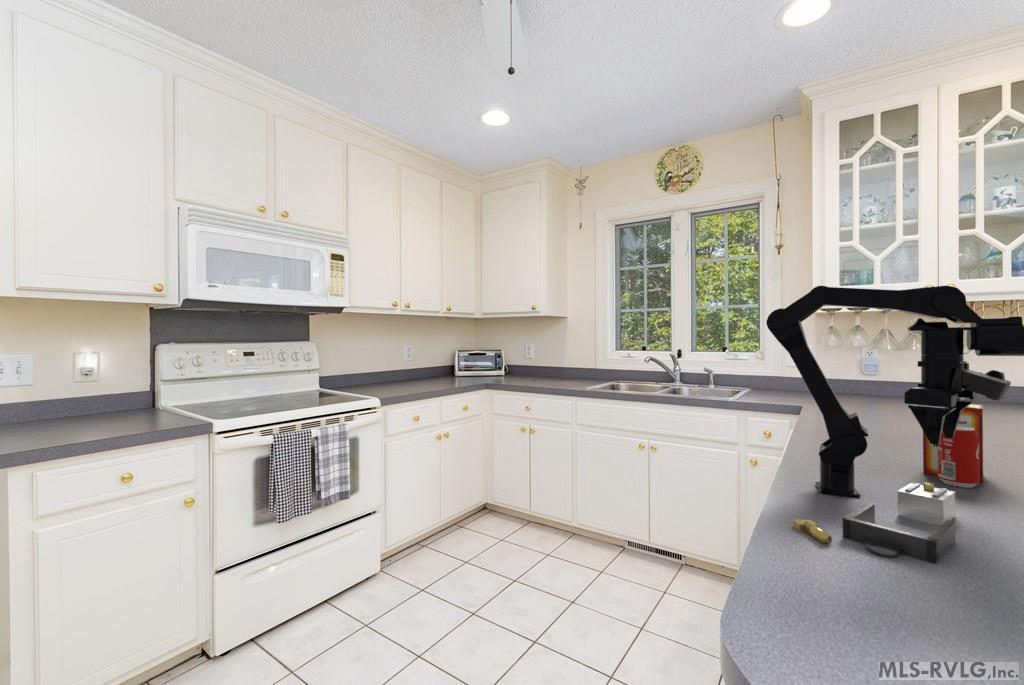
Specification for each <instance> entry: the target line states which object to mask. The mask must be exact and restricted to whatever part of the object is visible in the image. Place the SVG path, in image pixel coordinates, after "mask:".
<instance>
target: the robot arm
mask: <svg viewBox="0 0 1024 685" xmlns="http://www.w3.org/2000/svg"><path fill="white" fill-rule="evenodd" d="M827 306H829V307H830V306H831V307H832V306H833V307H844V308H847V307H848V308H861V309H873V310H874V309H876V310H891V311H892V310H894V311H898V312H903V313H907V314H911V315H916V316H920V317H919V318H917V319H916V321H914V323H913V324H912V325H910V326H908V327H907V331H908V332H913V331H914V332H920V333H921V334H920V341H921V342H920V351H921V352H920V360H918V361H917V367H919V368H920V369H921V370H920V372H921V373H920V377H921V378H920V382H917V386H915V387H911V388H909V389H908V390H907V391H905V392H904V404H906V405H907V408H908V409H910V411H911V413H912V414H913V416H914V417H915V419H916V421H917V423H918V424H919V426H920V428H921V430H922V432H923V431H924V433H925V435H926V437H927V438H928V440H929V442H930V444H934V445H938V444H939V442H940V438H941V433H942V431H943V433H944V435H945V437H947V438H953V437H954V434H955V431H956V428H957V425H958V422H959V419H960V416H961V413H962V410H963V409H964V408H966V407H967V406H969V405H971V404H972V405H974V403H975V402H976V401H975V400H977V399H978V394H979V395H981V396H984V397H986V398H987V399H989V400H993V401H1000V400H1003V398H1004V397H1005V394H1006V393H1007V391H1008V390H1009V389H1010V386H1011V385H1012V382H1011V381H1010V380H1007V379H1006V377H1005V373H1004V372H1002V371H999V370H996V369H990V370H989V371H987V372H986V373H983V372H980V371H975V370H971V369H970V363H969V362H968V361H966V360H964V354H965V353H964V352H965V351H964V345H965V344H964V332H965V331H966V336H965V337H966V338H965V340H966V348H967V350H968V351H973V350H974V353H975V355H976V356H977V357H982V356H983V357H985V356H986V357H1001V356H1002V357H1024V323H1023V317H1022V316H1019V315H1018V316H1006V317H1000V318H999V317H996V318H993V317H991V318H990V317H989V318H988V317H987V318H982V317H981V316H980V315H979V314H978V313H977V312H975V311H974V310H973V308H971V307H970V306H969V304H967V297H966V295H965V293H964V292H963V291H961V289H960V288H958V287H956V286H950V285H938V286H927V287H917V288H910V289H908V288H907V289H896V290H895V289H881V288H880V289H877V288H876V289H875V288H858V287H857V288H855V287H853V288H852V287H838V286H837V287H836V286H834V287H833V286H826V285H817V286H815V287H813V288H812V289H811V290H810V291H809V292H807V293H806V294H805V295H803V296H801V297H800V298H798V299H797V300H795V301H794V302H792V303H790V304H789V305H787V307H784V308H777V309H775V310H773V311H772V312H771V313H770V314H769V315H767V319H766V327H767V329H768V330H769V332H770V333H771V334H772V335H773V337H775V339H776V340H777V341H778V343H780V345H781V346H782V347H783V349H785V351H787V353H788V354H789V356H790V358H791V359H792V361H793V363H794V365H795V366H796V368H797V371H798V372H799V373H800V374H799V375H801V378H802V379H803V381H804V384H806V385H805V386H806V387H807V389H808V390H809V392H810V394H811V396H812V398H813V400H814V401H815V403H816V405H817V406H818V409H819V410H820V412H821V415H822V417H823V420H824V425H825V428H826V431H827V434H828V439H826V440H825V441H823V442H822V443H821V444H820V445H819V452H818V455H819V481H815V486H816V487H817V488H818V490H819V492H820V493H822V494H827V495H828V494H829V495H837V496H838V495H839V496H847V497H858V498H859V497H860V498H861V493H860V491H859V490H858V489H857V488H856V487H855V459H856V458H858V457H860V456H862V455H863V454H864V453H865V452H866V451H867V449H868V441H867V438H868V437H869V432H868V429H867V428H865V427H864V426H863V424H862V423H861V421H860V418H859V415H858V413H857V411H854V412H853V413H851V414H850V413H848V411H847V409H845V408H844V407H843V405H842V404H841V402H840V401H839V399H838V397H837V396H836V393H835V392H834V390H833V388H832V387H831V385H830V382H829V380H828V379H827V377H826V374H824V371H823V370H822V368H821V366H820V364H819V363H818V361H817V360H816V358H815V356H814V354H813V352H812V351H811V348H810V347H809V344H808V342H807V341H808V340H807V339H806V338H807V337H806V334H805V331H804V328H803V324H802V322H804V321H805V320H806V319H808V318H809V317H811V316H812V315H813V314H815V313H816V312H817V311H819V310H820V309H822V308H823V307H827ZM921 316H922V317H926V318H930V319H937V320H938V319H946V320H948V321H950V322H952V323H954V324H957V325H959V324H969V325H970V326H967V327H961V326H960V327H958V326H955V327H949V325H948V322H947V321H925V320H924V319H923V318H922V317H921ZM966 398H967V399H966Z"/></svg>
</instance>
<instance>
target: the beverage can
mask: <svg viewBox="0 0 1024 685" xmlns="http://www.w3.org/2000/svg"><path fill="white" fill-rule="evenodd" d="M974 430H975V429H974V428H972V427H967V426H959V425H957V428H956V431H955V434H954V437H953V438H947V437H945V435H944V433H943V431H942V433H941V438H940V442H939V444H938V476H937V477H938V479H939V480H940V481H942V483H943V484H946V485H948V486H951V485H953V486H952V487H956V486H958V487H957V488H963V487H964V489H965V488H966V489H967V488H969V489H972V488H975V486H977V485H979V484H980V483H981V482H980V470H979V435H978V434H977V433H976V432H975V431H974Z"/></svg>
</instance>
